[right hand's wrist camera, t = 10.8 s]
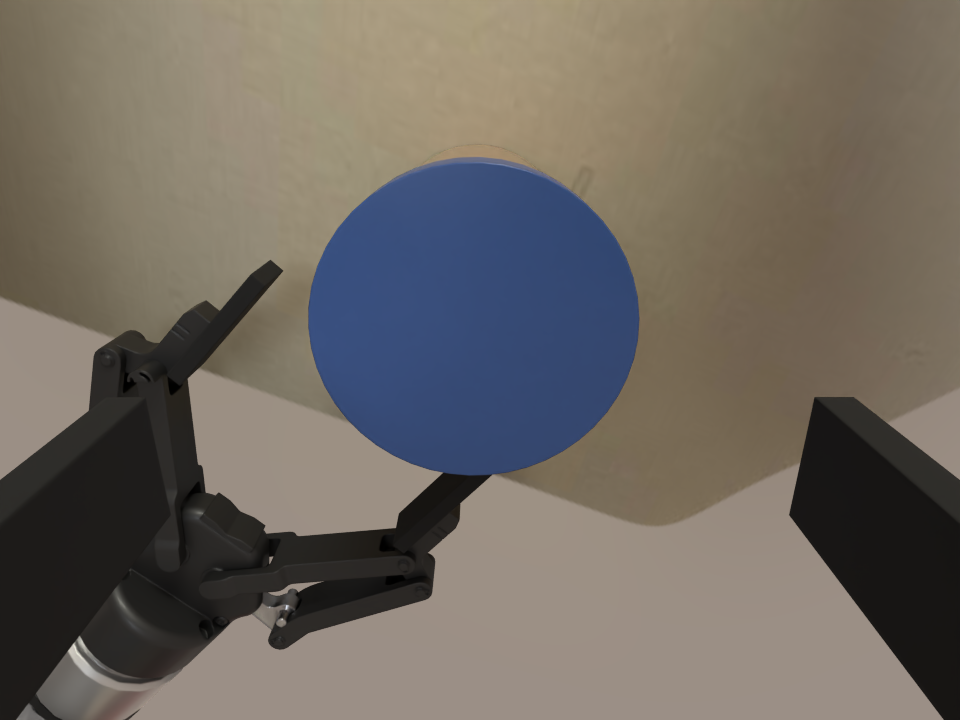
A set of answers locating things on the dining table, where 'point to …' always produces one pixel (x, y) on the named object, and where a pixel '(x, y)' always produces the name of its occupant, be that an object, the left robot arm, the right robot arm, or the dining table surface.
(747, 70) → the dining table surface
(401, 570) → the left robot arm
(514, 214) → the lid
